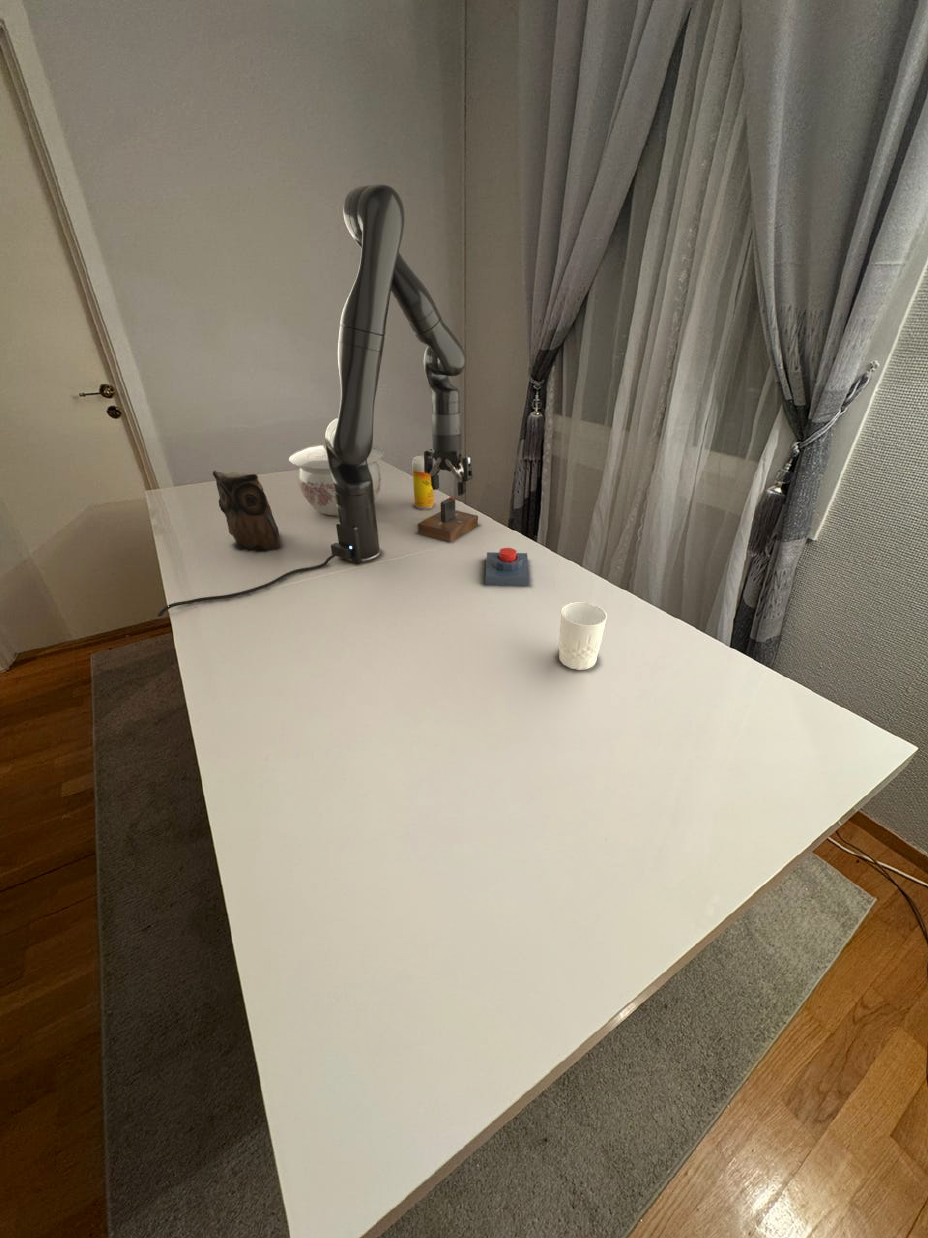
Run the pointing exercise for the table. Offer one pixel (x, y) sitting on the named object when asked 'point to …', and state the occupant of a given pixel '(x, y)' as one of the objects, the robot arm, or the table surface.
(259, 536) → the owl
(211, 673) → the table surface
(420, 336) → the robot arm
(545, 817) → the table surface
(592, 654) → the white cup
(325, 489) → the chamber pot
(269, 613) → the table surface
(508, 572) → the button box
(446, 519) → the dial knob
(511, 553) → the press knob
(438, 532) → the dial panel
